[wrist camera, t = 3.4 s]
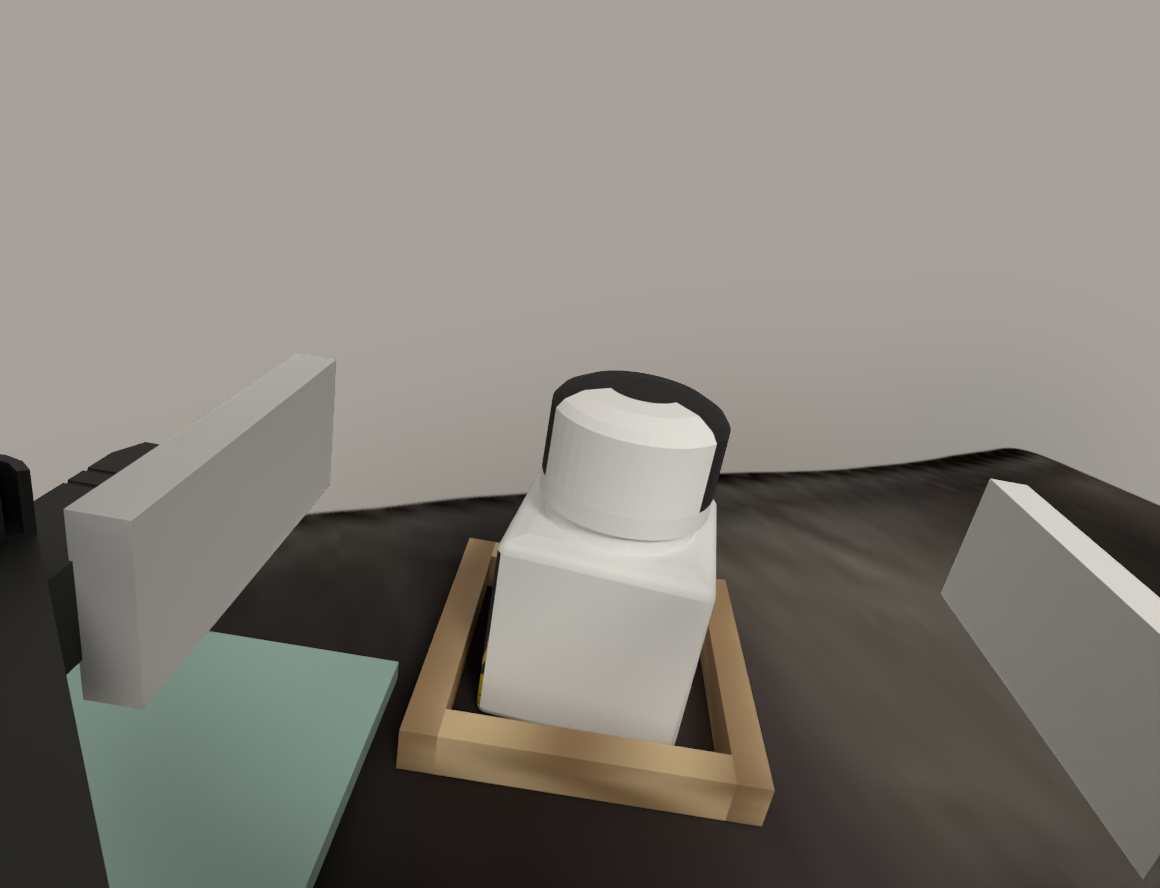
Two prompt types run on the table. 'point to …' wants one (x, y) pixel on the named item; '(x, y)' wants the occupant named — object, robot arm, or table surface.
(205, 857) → the rubber mat
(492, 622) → the medicine bottle
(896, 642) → the table surface
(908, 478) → the table surface
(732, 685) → the oak cradle
